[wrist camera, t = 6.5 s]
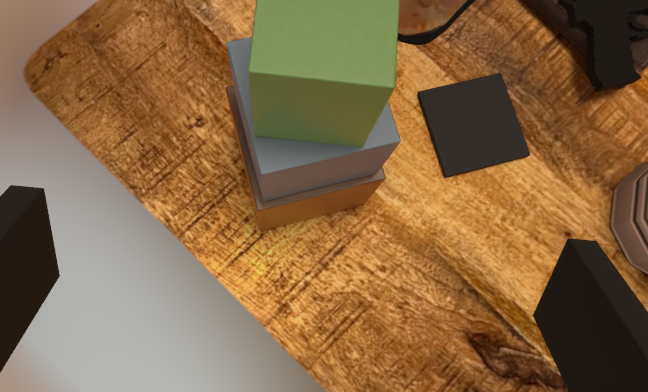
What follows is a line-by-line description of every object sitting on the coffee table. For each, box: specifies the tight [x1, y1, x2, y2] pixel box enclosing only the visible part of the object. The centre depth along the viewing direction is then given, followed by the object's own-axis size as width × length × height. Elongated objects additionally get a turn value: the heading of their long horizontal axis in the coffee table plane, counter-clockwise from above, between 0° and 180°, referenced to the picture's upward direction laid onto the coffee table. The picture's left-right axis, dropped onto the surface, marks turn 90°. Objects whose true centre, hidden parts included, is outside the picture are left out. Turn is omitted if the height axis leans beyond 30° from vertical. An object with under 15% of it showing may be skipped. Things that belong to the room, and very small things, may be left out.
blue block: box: [227, 37, 401, 201], centre depth 34 cm, size 8×8×7 cm
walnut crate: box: [226, 86, 386, 231], centre depth 41 cm, size 9×9×9 cm
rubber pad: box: [417, 73, 530, 178], centre depth 48 cm, size 8×8×1 cm
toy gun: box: [558, 0, 648, 92], centre depth 48 cm, size 13×1×10 cm
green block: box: [248, 0, 400, 147], centre depth 26 cm, size 6×6×8 cm
